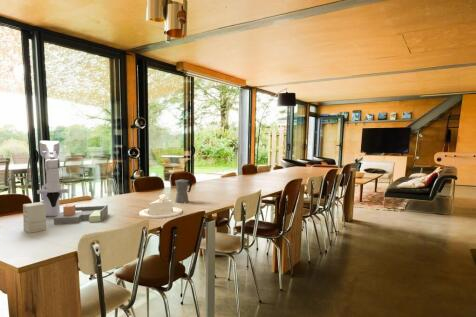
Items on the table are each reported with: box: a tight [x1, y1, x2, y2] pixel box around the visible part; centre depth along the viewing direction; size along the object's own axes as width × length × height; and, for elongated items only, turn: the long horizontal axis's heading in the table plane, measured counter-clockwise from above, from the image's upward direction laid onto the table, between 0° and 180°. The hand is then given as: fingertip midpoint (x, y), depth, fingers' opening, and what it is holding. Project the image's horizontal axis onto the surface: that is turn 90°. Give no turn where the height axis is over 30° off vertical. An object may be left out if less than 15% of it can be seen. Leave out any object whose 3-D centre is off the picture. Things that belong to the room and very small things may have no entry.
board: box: [53, 204, 109, 225], centre depth 157 cm, size 23×16×6 cm
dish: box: [138, 193, 183, 219], centre depth 171 cm, size 25×25×11 cm
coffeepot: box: [174, 176, 193, 204], centre depth 203 cm, size 15×9×18 cm, turn 62°
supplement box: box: [22, 201, 47, 234], centre depth 137 cm, size 7×7×13 cm
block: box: [62, 204, 76, 215], centre depth 156 cm, size 4×4×4 cm
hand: (53, 206), depth 154 cm, fingers closed
